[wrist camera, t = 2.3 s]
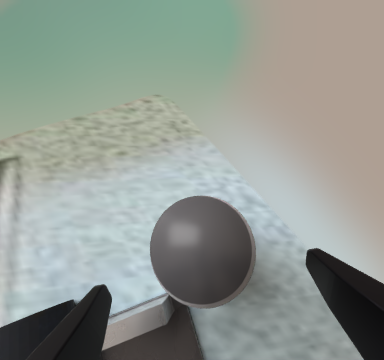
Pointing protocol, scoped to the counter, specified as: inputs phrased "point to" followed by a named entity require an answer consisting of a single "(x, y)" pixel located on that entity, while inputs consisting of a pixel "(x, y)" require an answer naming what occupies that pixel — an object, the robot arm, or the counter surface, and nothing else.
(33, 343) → the pipe connector
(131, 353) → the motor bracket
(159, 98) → the counter surface
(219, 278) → the grey domed cylinder
